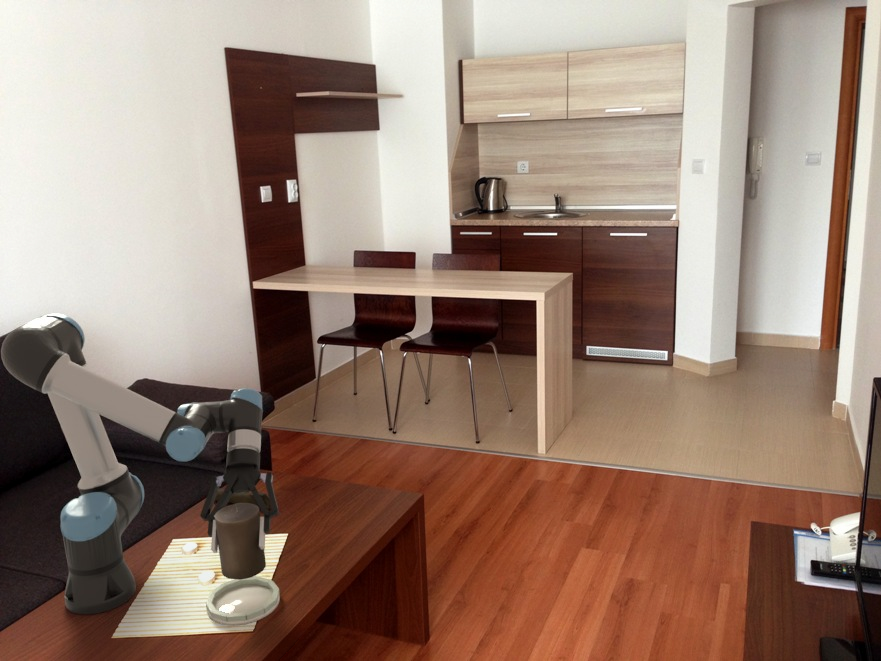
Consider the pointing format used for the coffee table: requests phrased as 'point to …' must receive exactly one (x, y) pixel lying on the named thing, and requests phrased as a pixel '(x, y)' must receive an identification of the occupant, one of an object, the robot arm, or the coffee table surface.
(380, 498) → the coffee table surface
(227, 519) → the pillar candle
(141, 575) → the coffee table surface
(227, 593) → the candle plate
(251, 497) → the dark brown bark log
